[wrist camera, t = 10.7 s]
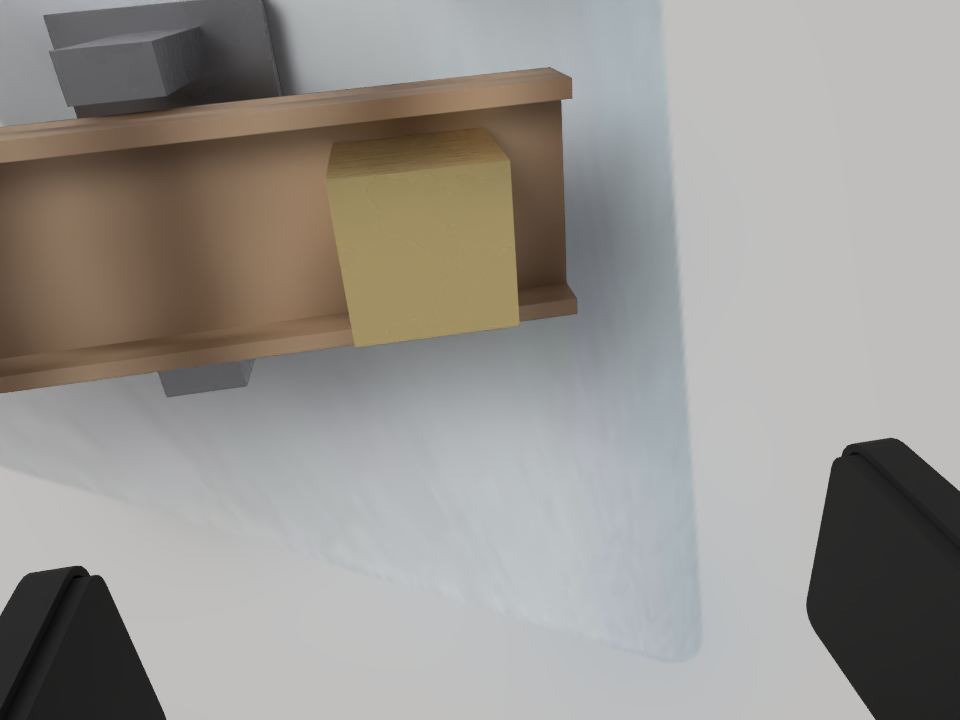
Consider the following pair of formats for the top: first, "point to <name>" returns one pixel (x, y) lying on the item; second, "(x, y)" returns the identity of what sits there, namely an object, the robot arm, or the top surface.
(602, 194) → the top surface
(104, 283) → the beam
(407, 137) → the block
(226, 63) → the pivot stand
